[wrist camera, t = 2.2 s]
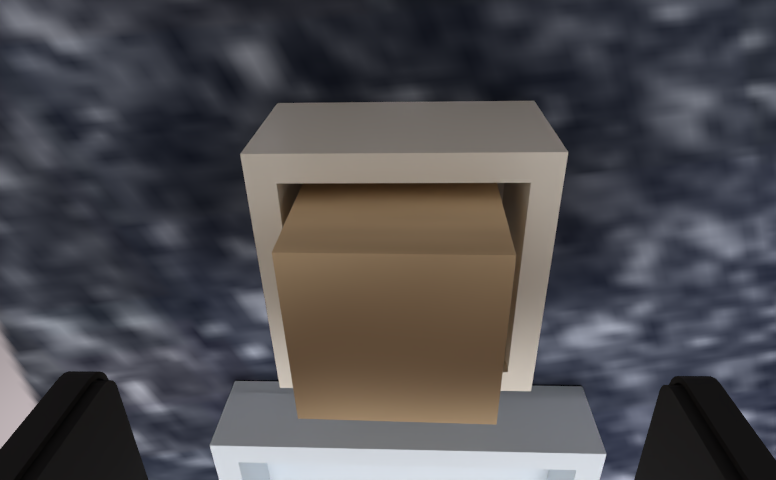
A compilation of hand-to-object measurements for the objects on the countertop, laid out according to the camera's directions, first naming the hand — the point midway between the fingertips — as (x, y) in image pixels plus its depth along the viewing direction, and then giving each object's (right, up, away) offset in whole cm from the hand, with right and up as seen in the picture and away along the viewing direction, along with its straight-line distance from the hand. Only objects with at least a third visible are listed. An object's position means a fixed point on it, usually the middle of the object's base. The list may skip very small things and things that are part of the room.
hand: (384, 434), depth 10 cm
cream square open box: (+1, +4, +5) cm, 6 cm away
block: (0, +4, +4) cm, 6 cm away
